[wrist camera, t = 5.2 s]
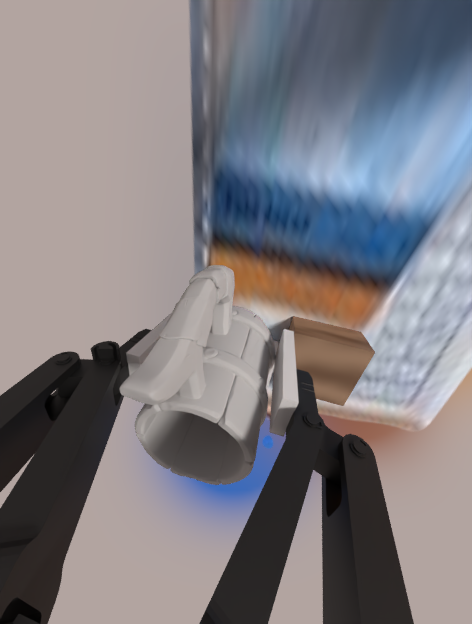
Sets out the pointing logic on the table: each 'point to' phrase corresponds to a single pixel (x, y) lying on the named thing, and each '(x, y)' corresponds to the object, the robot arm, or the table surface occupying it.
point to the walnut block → (330, 357)
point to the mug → (205, 384)
